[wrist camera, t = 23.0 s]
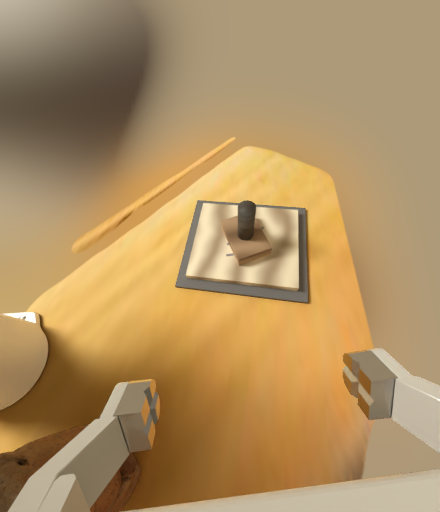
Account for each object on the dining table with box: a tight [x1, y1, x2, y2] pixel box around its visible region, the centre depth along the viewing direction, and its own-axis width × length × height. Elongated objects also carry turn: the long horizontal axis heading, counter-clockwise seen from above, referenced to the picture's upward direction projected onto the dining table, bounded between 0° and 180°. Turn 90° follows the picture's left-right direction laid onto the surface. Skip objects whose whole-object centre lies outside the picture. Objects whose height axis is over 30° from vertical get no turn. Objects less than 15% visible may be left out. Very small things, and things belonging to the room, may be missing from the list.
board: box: [186, 203, 299, 291], centre depth 50 cm, size 22×19×2 cm
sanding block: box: [221, 201, 272, 265], centre depth 45 cm, size 10×7×10 cm
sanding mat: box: [175, 200, 308, 303], centre depth 51 cm, size 26×23×1 cm
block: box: [0, 424, 141, 512], centre depth 26 cm, size 11×8×20 cm
